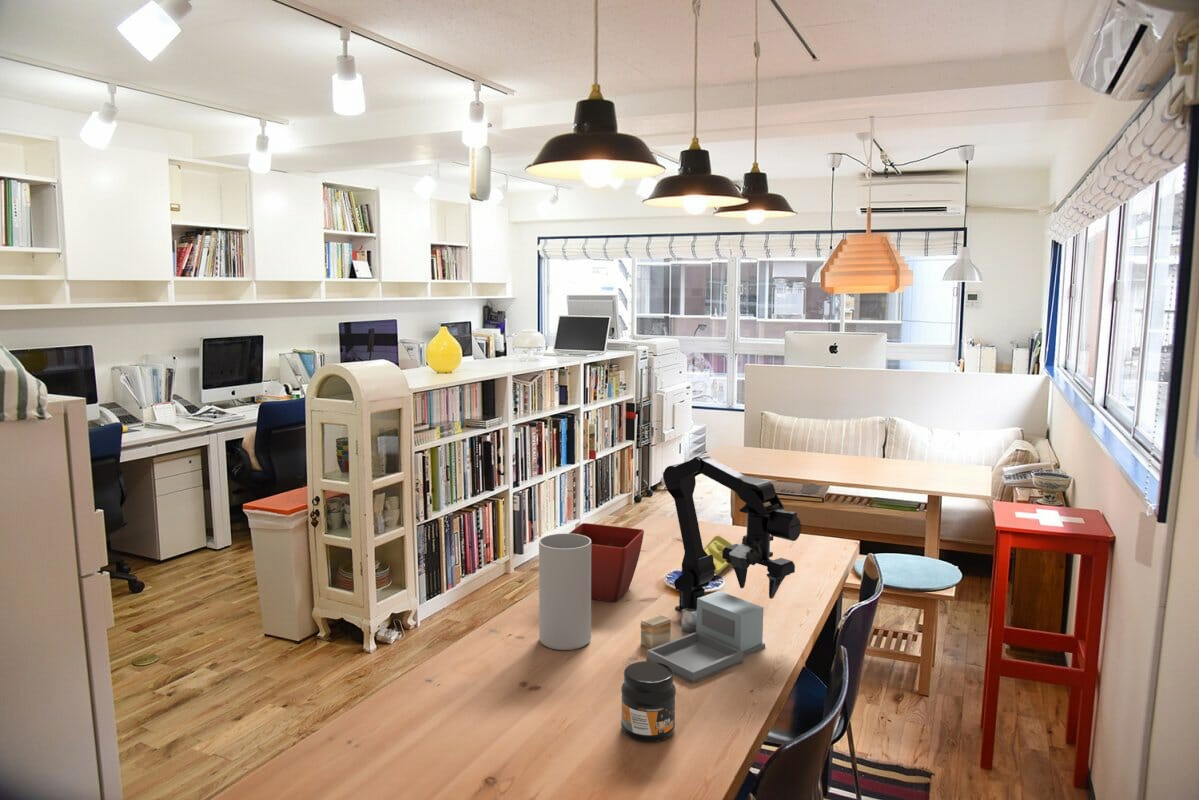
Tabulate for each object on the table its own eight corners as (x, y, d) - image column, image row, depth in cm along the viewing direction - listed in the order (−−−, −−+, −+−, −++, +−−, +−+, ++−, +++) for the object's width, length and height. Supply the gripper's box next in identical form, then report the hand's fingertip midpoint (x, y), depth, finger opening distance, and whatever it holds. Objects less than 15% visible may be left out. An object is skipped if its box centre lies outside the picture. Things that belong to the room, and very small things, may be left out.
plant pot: (644, 585, 242) (645, 528, 239) (624, 609, 224) (625, 548, 221) (582, 577, 248) (582, 522, 245) (558, 600, 230) (558, 540, 228)
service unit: (693, 637, 206) (694, 598, 204) (718, 627, 211) (718, 589, 210) (740, 657, 194) (741, 616, 193) (765, 647, 200) (766, 607, 199)
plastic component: (717, 572, 246) (689, 553, 250) (707, 591, 249) (679, 572, 253) (741, 549, 263) (714, 531, 267) (731, 567, 266) (705, 549, 270)
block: (640, 643, 202) (640, 620, 201) (658, 637, 206) (659, 613, 205) (652, 649, 199) (652, 625, 198) (670, 642, 203) (670, 619, 202)
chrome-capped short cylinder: (677, 629, 210) (677, 610, 210) (689, 625, 213) (690, 606, 212) (690, 635, 207) (690, 616, 206) (702, 630, 210) (702, 611, 209)
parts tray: (646, 660, 193) (646, 650, 192) (696, 641, 203) (696, 631, 203) (692, 683, 182) (693, 672, 181) (743, 662, 192) (743, 651, 192)
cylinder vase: (599, 635, 206) (599, 537, 203) (576, 655, 195) (576, 551, 192) (554, 626, 212) (554, 530, 208) (529, 645, 200) (529, 544, 197)
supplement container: (635, 749, 156) (636, 688, 154) (612, 722, 165) (612, 665, 164) (685, 737, 160) (686, 678, 158) (659, 712, 169) (660, 655, 168)
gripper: (708, 529, 208) (706, 590, 210) (767, 547, 194) (765, 612, 196) (737, 521, 215) (735, 580, 217) (797, 538, 201) (795, 601, 203)
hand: (756, 593), depth 208 cm, fingers open, 9 cm apart
